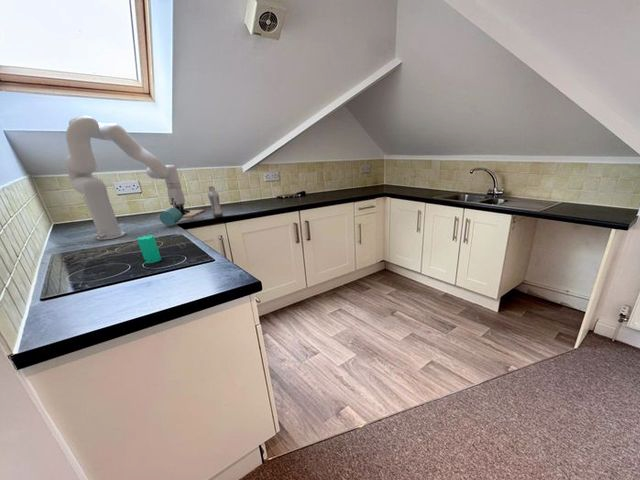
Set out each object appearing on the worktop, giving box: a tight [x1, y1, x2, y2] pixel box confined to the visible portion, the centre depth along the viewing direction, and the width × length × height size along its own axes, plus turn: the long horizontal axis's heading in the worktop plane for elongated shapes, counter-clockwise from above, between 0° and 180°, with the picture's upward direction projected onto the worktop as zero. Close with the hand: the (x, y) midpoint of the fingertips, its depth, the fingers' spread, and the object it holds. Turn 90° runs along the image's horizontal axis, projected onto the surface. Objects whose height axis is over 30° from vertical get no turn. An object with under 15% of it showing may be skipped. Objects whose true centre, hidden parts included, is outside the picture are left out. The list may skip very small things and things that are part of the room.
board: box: [182, 209, 205, 219], centre depth 211 cm, size 20×18×1 cm
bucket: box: [159, 207, 190, 227], centre depth 185 cm, size 18×10×8 cm, turn 2°
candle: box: [136, 233, 162, 264], centre depth 125 cm, size 6×6×12 cm
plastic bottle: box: [207, 186, 224, 219], centre depth 197 cm, size 6×7×20 cm
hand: (181, 215), depth 193 cm, fingers closed on bucket, 1 cm apart
